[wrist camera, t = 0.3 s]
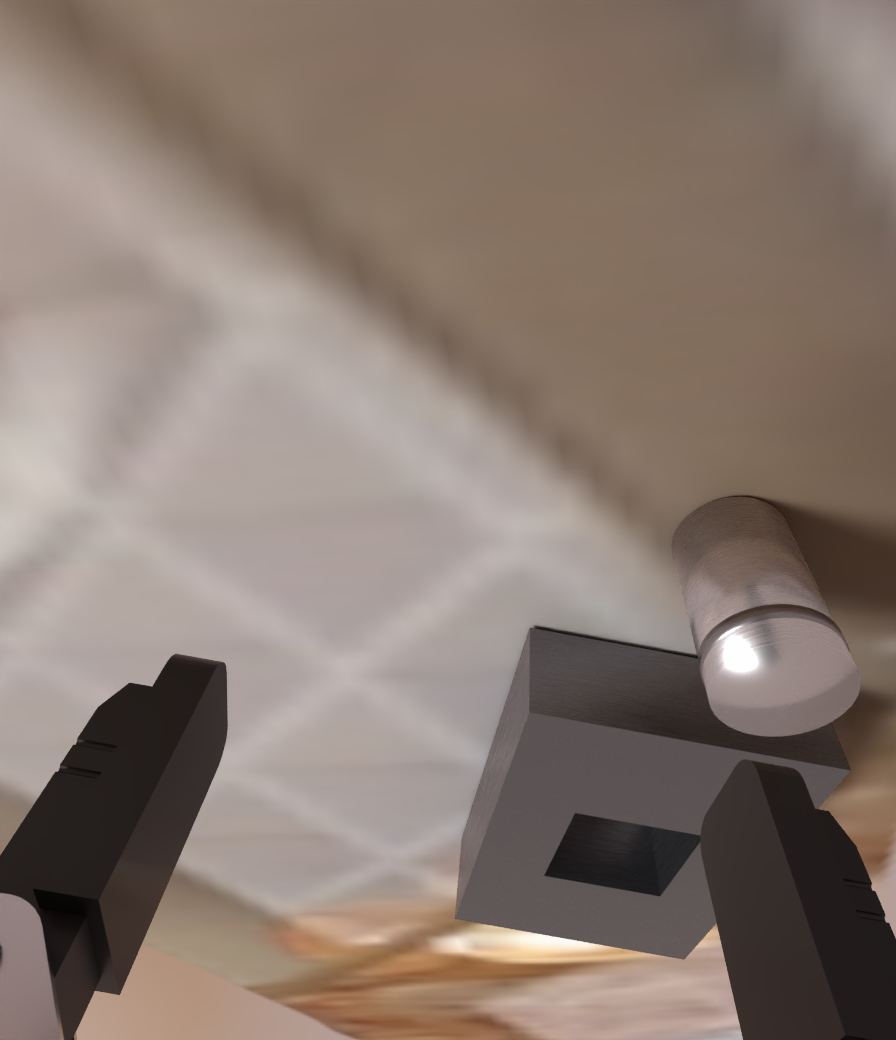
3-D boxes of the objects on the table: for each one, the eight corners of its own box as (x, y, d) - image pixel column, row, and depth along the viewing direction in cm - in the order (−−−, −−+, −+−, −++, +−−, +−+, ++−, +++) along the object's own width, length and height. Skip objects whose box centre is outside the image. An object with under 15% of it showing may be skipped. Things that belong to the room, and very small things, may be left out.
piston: (694, 486, 28) (741, 629, 22) (811, 507, 28) (892, 657, 22) (654, 574, 31) (686, 723, 25) (760, 593, 31) (819, 747, 25)
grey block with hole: (530, 627, 34) (529, 712, 30) (813, 679, 34) (851, 770, 30) (461, 838, 46) (454, 918, 42) (671, 876, 46) (684, 959, 42)
